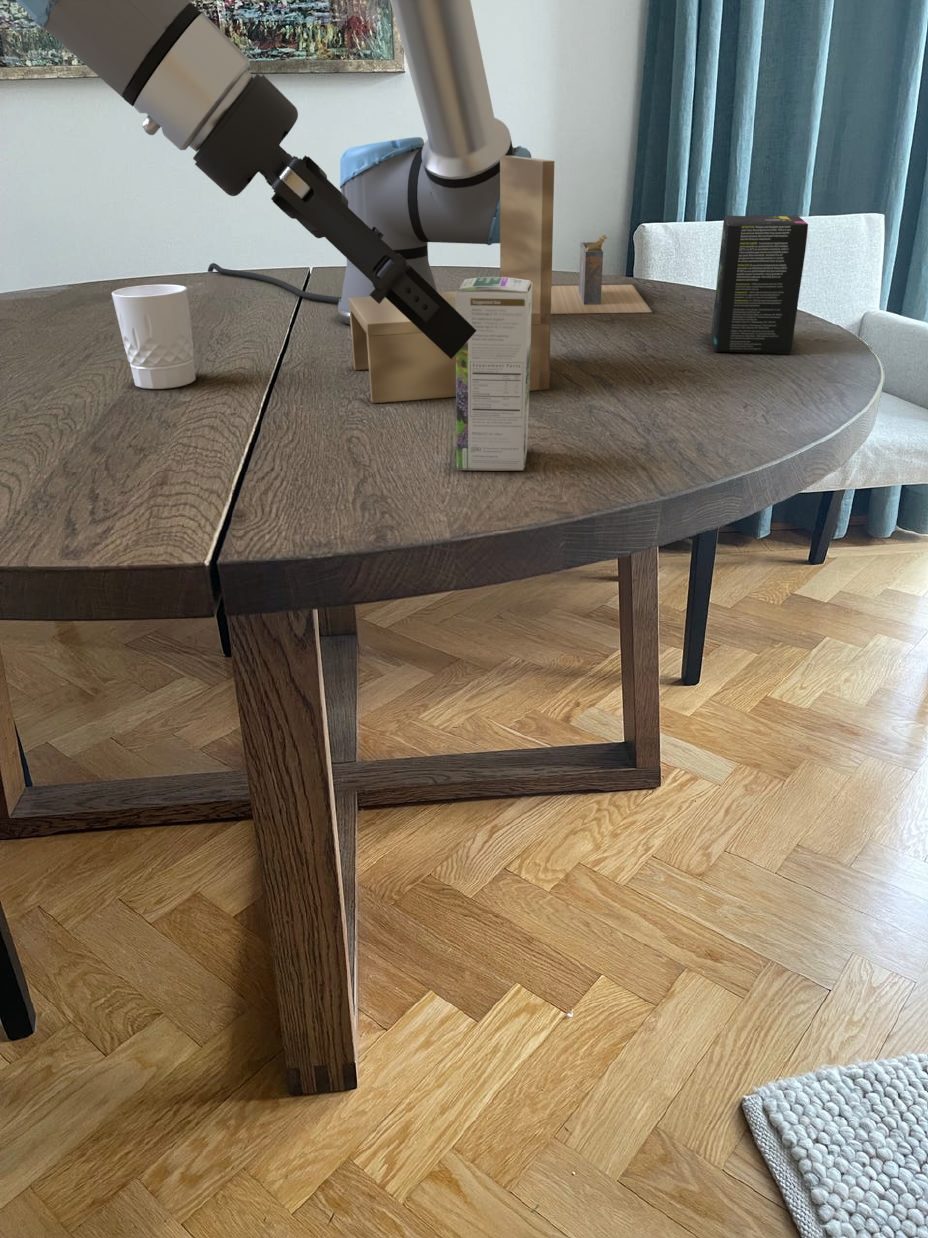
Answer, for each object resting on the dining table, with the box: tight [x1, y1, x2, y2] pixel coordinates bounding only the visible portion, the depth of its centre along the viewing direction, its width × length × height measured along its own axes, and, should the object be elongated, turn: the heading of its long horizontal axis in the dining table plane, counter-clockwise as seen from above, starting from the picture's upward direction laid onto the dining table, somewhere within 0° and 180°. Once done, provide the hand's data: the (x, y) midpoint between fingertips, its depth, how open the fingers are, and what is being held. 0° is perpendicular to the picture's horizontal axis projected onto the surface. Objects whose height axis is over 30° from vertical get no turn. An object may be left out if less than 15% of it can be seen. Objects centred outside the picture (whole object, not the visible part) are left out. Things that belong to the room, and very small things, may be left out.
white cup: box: [111, 284, 196, 390], centre depth 103 cm, size 8×8×10 cm
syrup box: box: [455, 276, 532, 472], centre depth 76 cm, size 6×6×14 cm
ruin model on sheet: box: [551, 234, 653, 315], centre depth 145 cm, size 25×16×10 cm, turn 178°
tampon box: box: [710, 214, 809, 355], centre depth 113 cm, size 11×9×15 cm
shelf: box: [349, 156, 555, 404], centre depth 99 cm, size 19×16×22 cm
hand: (444, 326), depth 73 cm, fingers open, 13 cm apart
